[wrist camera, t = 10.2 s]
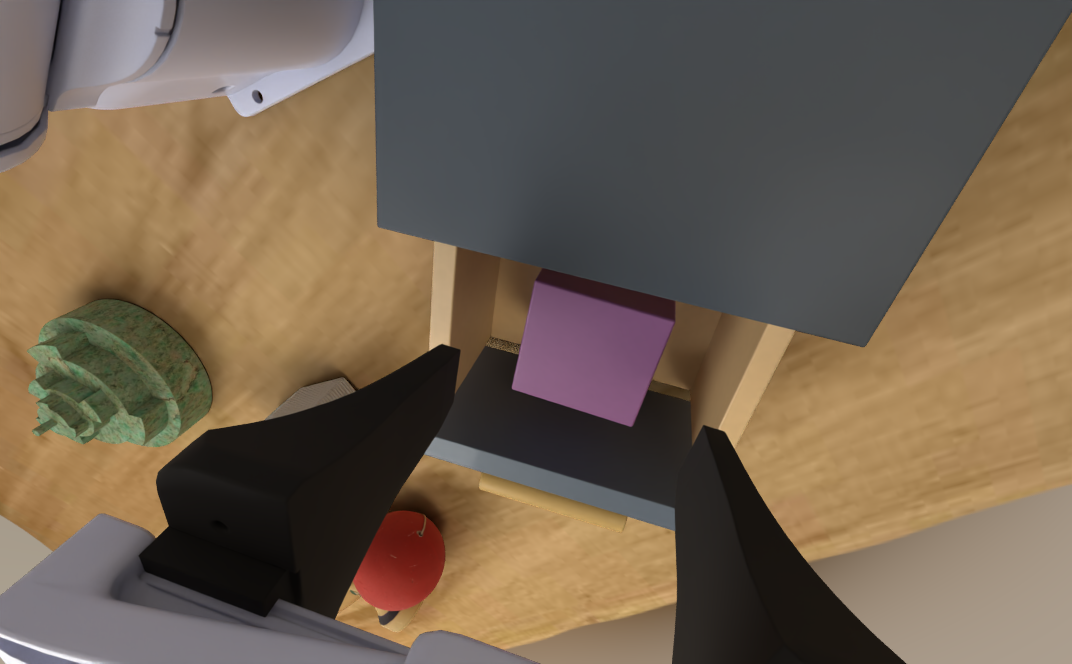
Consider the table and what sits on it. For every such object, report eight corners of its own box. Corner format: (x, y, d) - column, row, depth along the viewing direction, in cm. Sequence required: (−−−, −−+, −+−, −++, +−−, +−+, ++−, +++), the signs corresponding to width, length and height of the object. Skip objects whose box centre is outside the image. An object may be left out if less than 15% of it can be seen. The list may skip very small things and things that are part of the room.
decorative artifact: (205, 444, 37) (219, 351, 32) (116, 520, 31) (114, 423, 26) (83, 376, 37) (76, 270, 31) (-31, 441, 31) (-65, 324, 25)
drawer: (677, 482, 27) (677, 603, 21) (459, 419, 28) (404, 515, 23) (847, 108, 17) (933, 144, 11) (495, 41, 18) (412, 42, 13)
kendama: (383, 602, 45) (487, 557, 33) (328, 670, 40) (429, 644, 29) (324, 539, 45) (408, 472, 33) (262, 600, 40) (336, 546, 28)
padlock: (310, 446, 34) (191, 579, 26) (270, 402, 33) (130, 526, 25) (381, 417, 31) (271, 557, 23) (339, 367, 30) (206, 496, 21)
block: (676, 260, 20) (676, 321, 15) (641, 354, 22) (632, 428, 18) (564, 229, 20) (534, 279, 16) (541, 324, 23) (510, 389, 18)
